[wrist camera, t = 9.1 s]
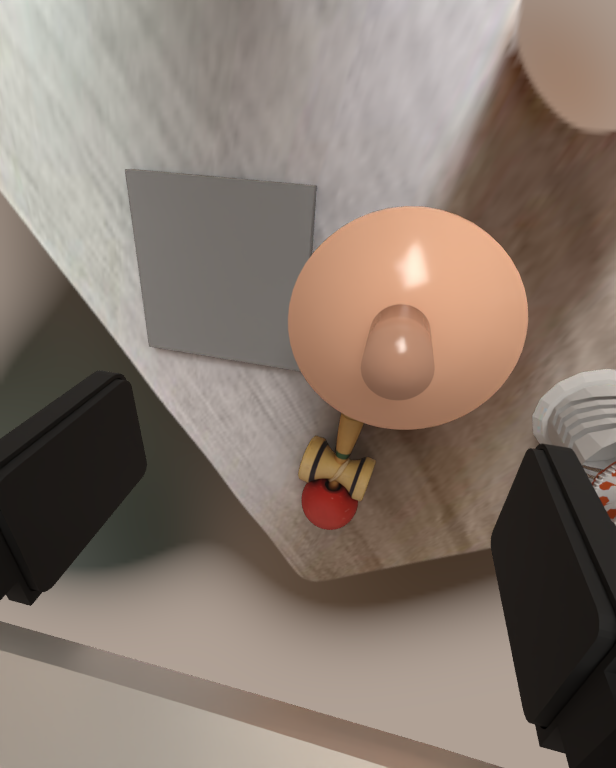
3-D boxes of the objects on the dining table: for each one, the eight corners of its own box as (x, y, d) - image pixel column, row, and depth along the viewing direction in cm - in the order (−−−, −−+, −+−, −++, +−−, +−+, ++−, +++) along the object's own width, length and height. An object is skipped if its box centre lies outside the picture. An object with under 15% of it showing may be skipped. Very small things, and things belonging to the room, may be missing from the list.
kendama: (321, 352, 40) (289, 497, 47) (322, 375, 34) (285, 538, 41) (396, 366, 41) (354, 508, 48) (410, 391, 35) (360, 550, 42)
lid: (297, 195, 23) (264, 204, 18) (561, 218, 21) (609, 237, 16) (287, 403, 30) (262, 452, 25) (485, 437, 28) (502, 500, 23)
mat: (132, 169, 34) (124, 169, 34) (316, 185, 32) (313, 186, 31) (154, 342, 42) (149, 346, 41) (304, 367, 40) (301, 371, 39)
